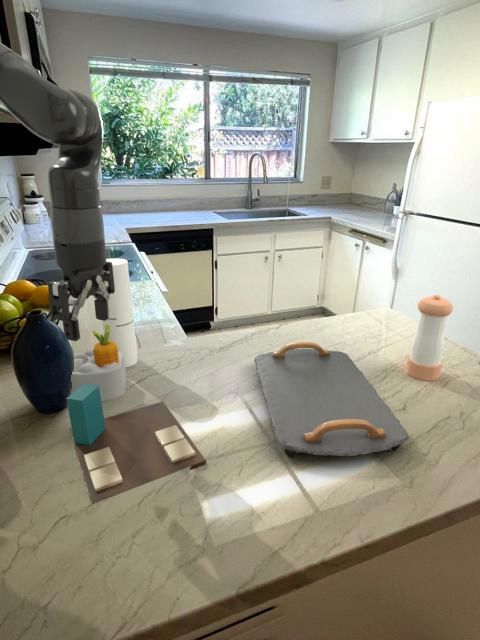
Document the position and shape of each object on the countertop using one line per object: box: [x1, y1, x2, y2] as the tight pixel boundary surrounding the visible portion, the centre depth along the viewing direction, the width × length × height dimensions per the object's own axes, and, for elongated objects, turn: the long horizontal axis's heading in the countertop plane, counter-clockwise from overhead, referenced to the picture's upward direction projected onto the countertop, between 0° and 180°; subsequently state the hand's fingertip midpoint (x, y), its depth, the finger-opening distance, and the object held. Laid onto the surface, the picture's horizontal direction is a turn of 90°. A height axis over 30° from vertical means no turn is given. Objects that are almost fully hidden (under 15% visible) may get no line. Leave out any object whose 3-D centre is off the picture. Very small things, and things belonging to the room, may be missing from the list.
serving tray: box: [254, 341, 410, 458], centre depth 82 cm, size 39×23×6 cm, turn 5°
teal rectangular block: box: [65, 383, 105, 446], centre depth 70 cm, size 3×5×9 cm, turn 166°
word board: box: [68, 400, 207, 505], centre depth 69 cm, size 18×20×1 cm
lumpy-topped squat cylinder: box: [71, 346, 127, 402], centre depth 85 cm, size 10×13×9 cm
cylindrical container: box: [101, 257, 139, 369], centre depth 95 cm, size 7×7×25 cm
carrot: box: [91, 324, 118, 367], centre depth 83 cm, size 5×5×15 cm
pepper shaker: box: [405, 294, 454, 382], centre depth 90 cm, size 7×7×19 cm
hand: (88, 329), depth 69 cm, fingers open, 8 cm apart
